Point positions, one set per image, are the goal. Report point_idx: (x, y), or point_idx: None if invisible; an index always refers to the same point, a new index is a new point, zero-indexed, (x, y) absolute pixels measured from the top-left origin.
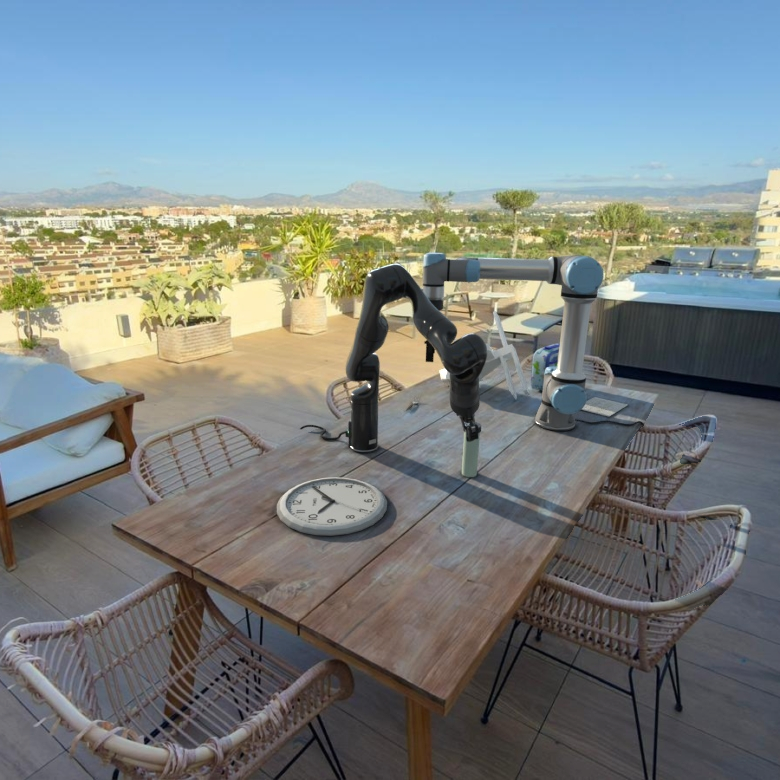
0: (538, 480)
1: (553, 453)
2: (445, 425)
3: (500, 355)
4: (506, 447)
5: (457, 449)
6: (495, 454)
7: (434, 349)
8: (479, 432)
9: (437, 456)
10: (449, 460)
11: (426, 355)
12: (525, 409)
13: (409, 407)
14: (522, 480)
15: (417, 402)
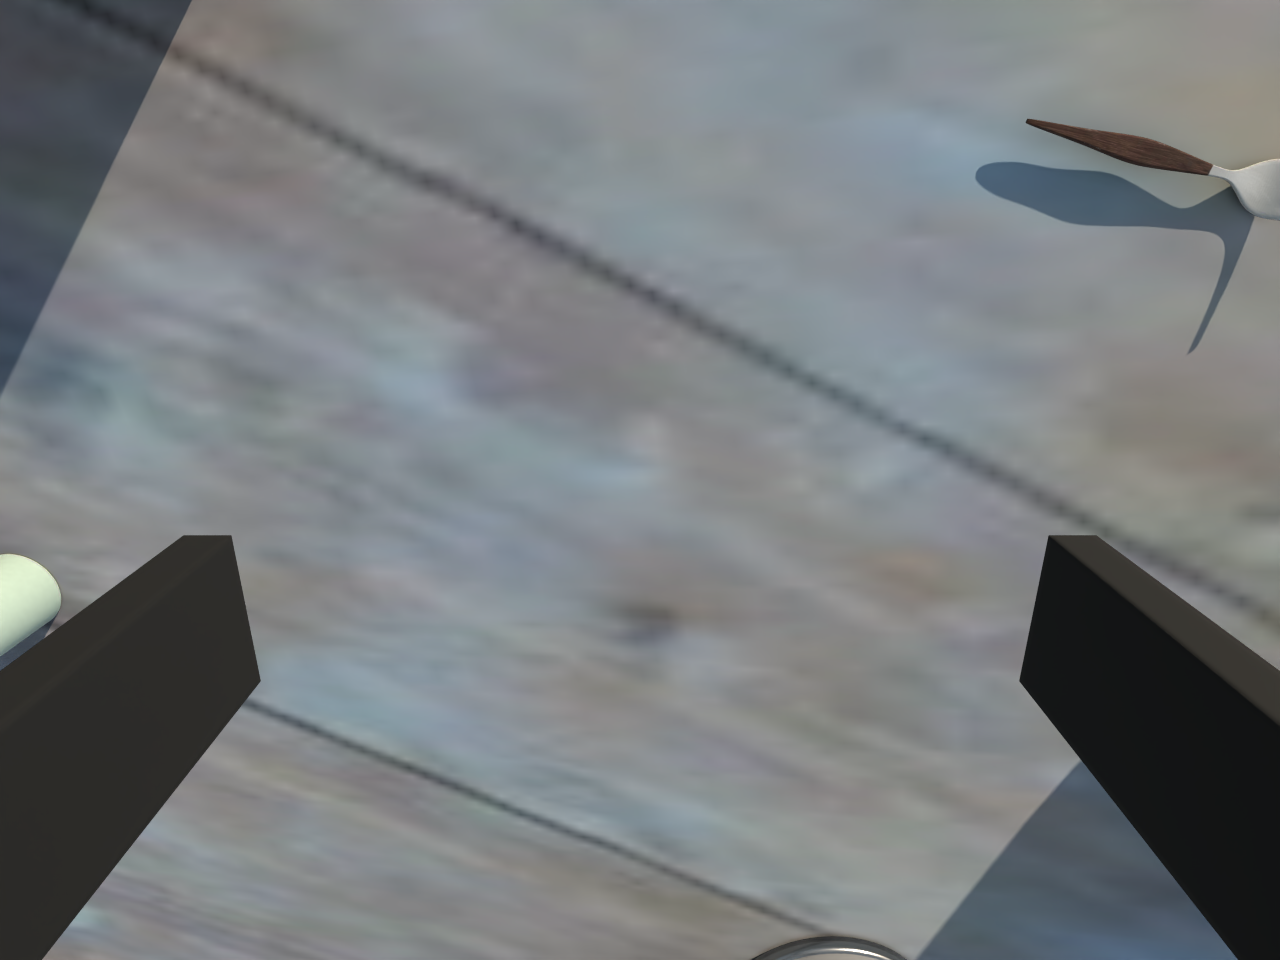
0: None
1: (421, 956)
2: (736, 456)
3: None
4: (439, 779)
5: (332, 533)
6: (325, 723)
7: (1064, 729)
8: None
9: (184, 418)
10: (153, 489)
11: (85, 625)
12: (1069, 916)
13: (1101, 144)
14: None
15: (1262, 209)
